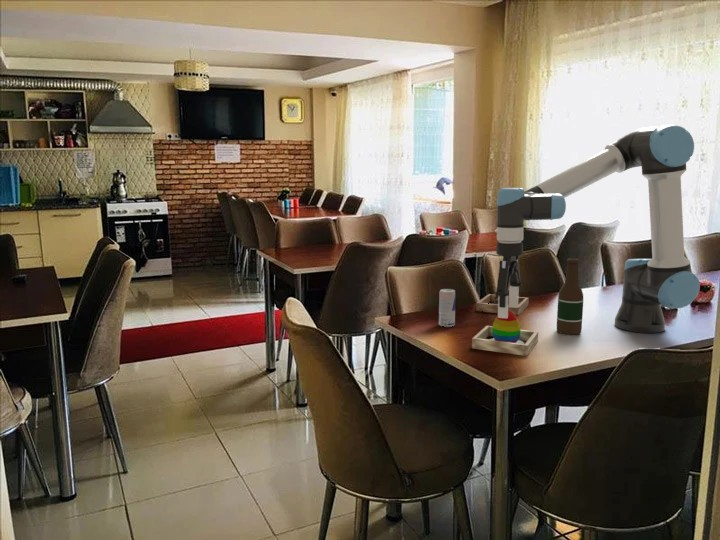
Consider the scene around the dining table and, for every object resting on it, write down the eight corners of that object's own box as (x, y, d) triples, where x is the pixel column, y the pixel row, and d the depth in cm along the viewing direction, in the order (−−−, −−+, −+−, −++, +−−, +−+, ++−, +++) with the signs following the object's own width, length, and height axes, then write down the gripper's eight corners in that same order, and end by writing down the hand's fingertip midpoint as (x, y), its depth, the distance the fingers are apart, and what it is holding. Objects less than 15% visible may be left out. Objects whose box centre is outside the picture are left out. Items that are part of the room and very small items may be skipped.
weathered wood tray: (528, 305, 228) (528, 297, 228) (518, 315, 213) (518, 307, 212) (488, 301, 235) (488, 293, 234) (476, 310, 220) (476, 302, 219)
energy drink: (456, 324, 201) (457, 289, 199) (452, 328, 196) (453, 292, 194) (441, 322, 203) (442, 288, 201) (436, 326, 198) (437, 291, 196)
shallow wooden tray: (537, 341, 181) (538, 331, 181) (527, 355, 167) (527, 345, 167) (486, 334, 188) (486, 325, 188) (471, 348, 174) (472, 338, 174)
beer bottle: (578, 337, 185) (583, 261, 181) (553, 333, 189) (557, 259, 185) (583, 331, 192) (588, 258, 188) (559, 328, 196) (563, 256, 192)
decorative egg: (488, 339, 181) (490, 307, 180) (515, 338, 182) (516, 306, 180) (495, 347, 173) (497, 313, 172) (523, 346, 174) (525, 313, 172)
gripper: (506, 236, 185) (505, 302, 189) (485, 246, 163) (484, 321, 167) (531, 236, 182) (529, 304, 185) (513, 247, 160) (511, 323, 163)
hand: (508, 312), depth 176 cm, fingers open, 13 cm apart
